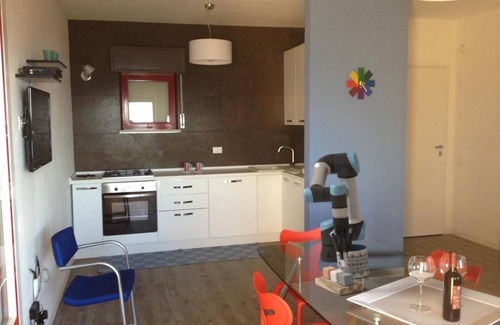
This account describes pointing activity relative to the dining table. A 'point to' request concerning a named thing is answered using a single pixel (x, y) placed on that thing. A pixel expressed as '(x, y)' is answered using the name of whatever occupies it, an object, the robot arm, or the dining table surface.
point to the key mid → (335, 275)
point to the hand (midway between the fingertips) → (344, 265)
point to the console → (338, 286)
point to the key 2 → (346, 279)
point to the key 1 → (328, 272)
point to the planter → (356, 261)
